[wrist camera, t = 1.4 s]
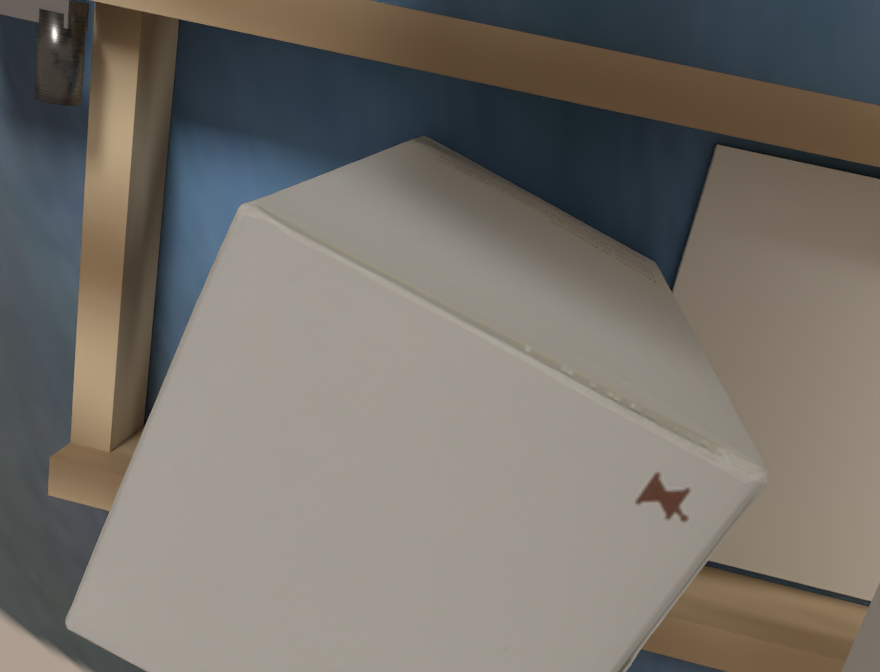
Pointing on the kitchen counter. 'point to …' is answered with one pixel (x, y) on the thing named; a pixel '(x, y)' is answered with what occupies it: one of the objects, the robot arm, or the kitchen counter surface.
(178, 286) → the kitchen counter surface
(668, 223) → the kitchen counter surface
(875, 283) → the front mat
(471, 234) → the supplement box
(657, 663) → the kitchen counter surface
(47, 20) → the winch
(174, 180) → the kitchen counter surface
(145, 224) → the bay
